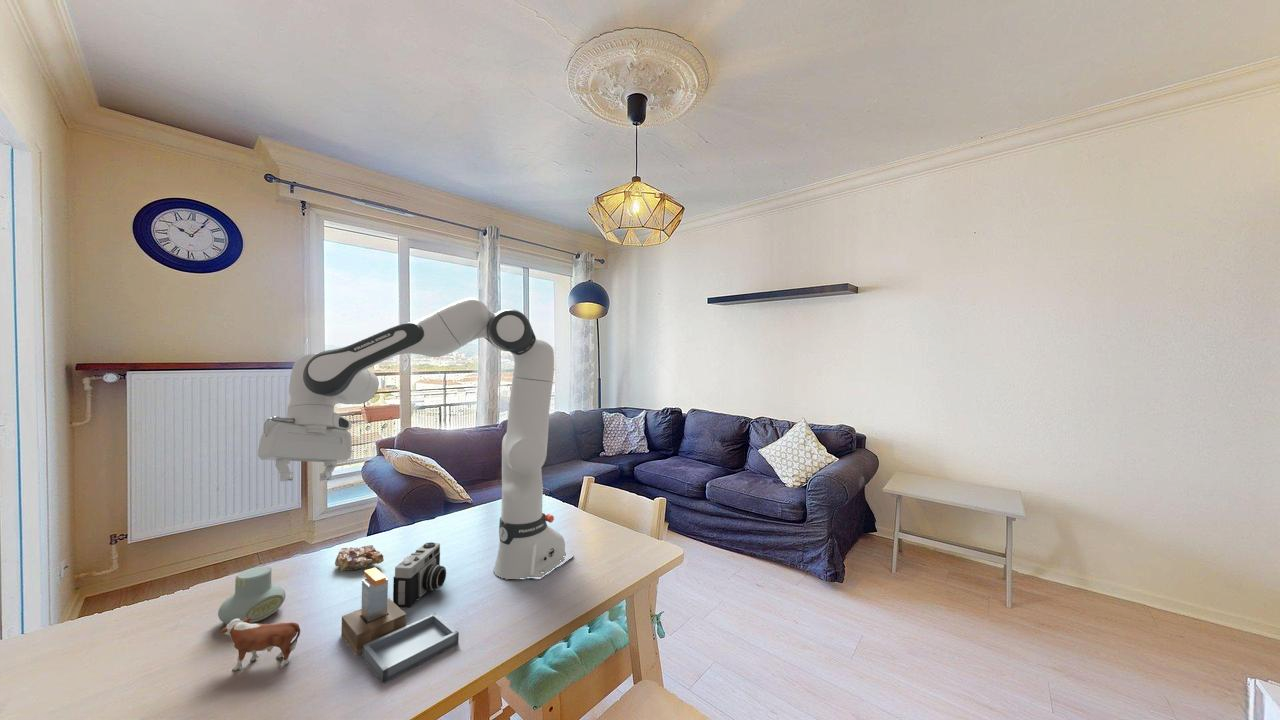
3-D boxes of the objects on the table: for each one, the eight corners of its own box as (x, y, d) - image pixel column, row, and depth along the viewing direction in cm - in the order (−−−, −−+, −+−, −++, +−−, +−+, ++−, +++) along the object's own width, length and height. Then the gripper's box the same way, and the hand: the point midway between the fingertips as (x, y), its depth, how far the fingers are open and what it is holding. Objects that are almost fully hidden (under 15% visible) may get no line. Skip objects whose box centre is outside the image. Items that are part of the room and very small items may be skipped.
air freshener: (233, 637, 86) (234, 588, 86) (209, 627, 89) (210, 580, 89) (292, 608, 97) (293, 564, 97) (269, 600, 99) (271, 557, 99)
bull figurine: (230, 655, 81) (231, 613, 81) (304, 653, 82) (305, 612, 82) (209, 672, 77) (210, 628, 77) (288, 670, 78) (289, 626, 78)
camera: (421, 611, 97) (420, 567, 97) (386, 607, 98) (386, 564, 98) (457, 580, 110) (457, 542, 110) (426, 577, 112) (426, 539, 112)
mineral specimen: (388, 549, 123) (387, 534, 120) (383, 573, 117) (382, 558, 114) (339, 555, 119) (336, 539, 115) (332, 580, 113) (328, 565, 109)
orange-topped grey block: (377, 624, 92) (379, 566, 92) (388, 636, 88) (390, 575, 88) (358, 632, 89) (360, 572, 89) (369, 645, 85) (370, 582, 85)
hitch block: (388, 615, 95) (389, 597, 95) (405, 632, 89) (406, 614, 89) (341, 635, 88) (341, 616, 88) (356, 655, 82) (357, 635, 82)
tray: (435, 623, 92) (435, 612, 92) (458, 643, 86) (458, 632, 86) (362, 657, 81) (362, 645, 81) (382, 683, 75) (383, 670, 75)
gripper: (277, 412, 90) (272, 478, 86) (357, 423, 109) (355, 478, 105) (252, 417, 90) (246, 484, 86) (336, 428, 110) (333, 482, 106)
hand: (306, 480), depth 96 cm, fingers open, 8 cm apart
